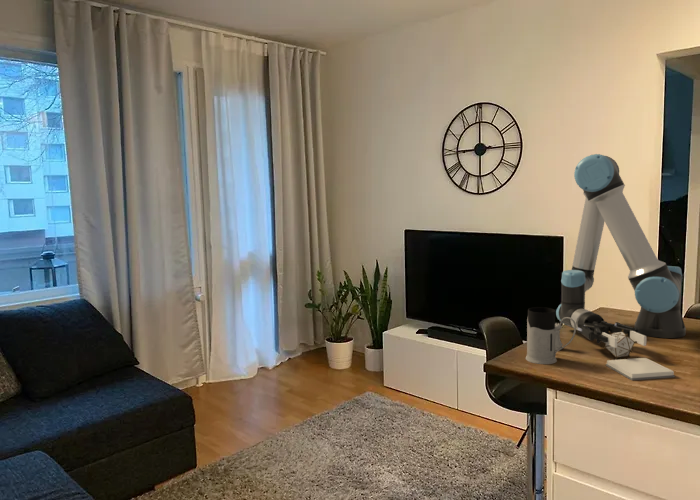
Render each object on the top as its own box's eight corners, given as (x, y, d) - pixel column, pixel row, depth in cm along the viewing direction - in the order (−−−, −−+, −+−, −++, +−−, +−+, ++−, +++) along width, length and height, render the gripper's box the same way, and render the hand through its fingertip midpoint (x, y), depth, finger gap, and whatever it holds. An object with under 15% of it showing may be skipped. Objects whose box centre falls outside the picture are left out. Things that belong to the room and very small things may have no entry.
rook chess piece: (545, 347, 173) (545, 322, 172) (559, 346, 174) (559, 321, 173) (551, 351, 169) (551, 326, 168) (565, 350, 169) (565, 325, 168)
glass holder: (532, 353, 167) (532, 305, 166) (580, 361, 159) (580, 310, 157) (520, 360, 161) (521, 311, 159) (570, 369, 152) (571, 317, 150)
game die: (625, 371, 160) (643, 350, 153) (596, 360, 161) (612, 339, 154) (625, 349, 166) (642, 328, 159) (597, 338, 167) (613, 317, 161)
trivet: (645, 362, 155) (645, 357, 155) (674, 377, 143) (674, 371, 143) (605, 365, 154) (605, 360, 154) (631, 380, 142) (631, 374, 142)
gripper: (617, 332, 179) (664, 352, 157) (557, 335, 177) (595, 357, 155) (618, 309, 178) (665, 327, 156) (557, 313, 176) (596, 331, 154)
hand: (630, 342), depth 155 cm, fingers closed on game die, 8 cm apart
